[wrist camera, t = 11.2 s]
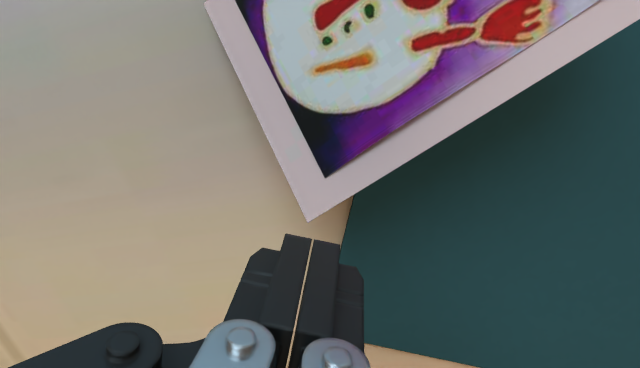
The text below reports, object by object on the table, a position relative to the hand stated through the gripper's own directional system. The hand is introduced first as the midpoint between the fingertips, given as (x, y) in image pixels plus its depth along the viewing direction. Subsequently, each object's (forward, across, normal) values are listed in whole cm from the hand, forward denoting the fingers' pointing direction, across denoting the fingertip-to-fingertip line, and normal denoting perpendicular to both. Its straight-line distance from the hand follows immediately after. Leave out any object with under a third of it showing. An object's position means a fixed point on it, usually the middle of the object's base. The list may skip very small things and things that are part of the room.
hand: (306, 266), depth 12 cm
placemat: (+12, -12, 0) cm, 17 cm away
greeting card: (+11, +3, -1) cm, 11 cm away
